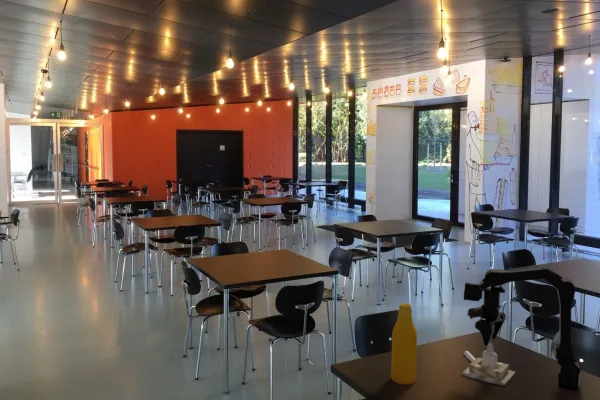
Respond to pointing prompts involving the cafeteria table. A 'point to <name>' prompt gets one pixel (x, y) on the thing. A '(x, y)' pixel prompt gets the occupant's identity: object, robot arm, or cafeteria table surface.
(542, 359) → the cafeteria table surface
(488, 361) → the eye dropper bottle
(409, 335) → the beer bottle
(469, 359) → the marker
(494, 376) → the collar block
